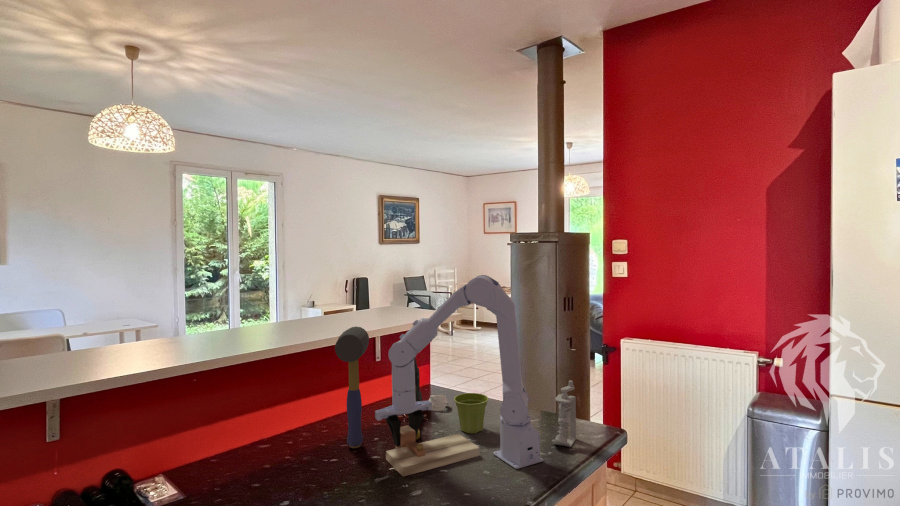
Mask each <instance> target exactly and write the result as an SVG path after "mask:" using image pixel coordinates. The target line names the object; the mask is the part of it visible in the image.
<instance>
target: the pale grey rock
mask: <svg viewBox="0 0 900 506" xmlns="http://www.w3.org/2000/svg"><path fill="white" fill-rule="evenodd" d="M428 400H429V401H430V402H432V410H431V411H433V412H443V411H445V410H446V407H447V406H450V402H449V401H448V399H447V396H446V395H445V394H438V395H437V394H436V395H433V394H432V395H429V399H428Z"/></svg>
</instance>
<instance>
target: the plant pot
mask: <svg viewBox="0 0 900 506" xmlns="http://www.w3.org/2000/svg"><path fill="white" fill-rule="evenodd" d="M453 401H454V402H455V406H456V408H457V414H458V415H457V416H458V420H459V426H460V431H461V432H465V434H477V433H479V432H482V431H483V430H484V422H485V421H484V420H485V414H486V407H487V403H488V401H489V397H488V396H487V395H485V394H482V393H478V392H477V393H476V392H466V393H460V394H457V395H456V396H454V398H453Z"/></svg>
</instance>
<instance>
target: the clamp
mask: <svg viewBox="0 0 900 506" xmlns="http://www.w3.org/2000/svg"><path fill="white" fill-rule="evenodd" d="M574 390H575V385H574V382H573V380H570V379H569V380H568V385H567V386H564V387H561V388H560V392H561V393H559V394H557V396H555V398H554V400H555V402H558V405H559V406H558V409H559V411H558V419H557V424H558V425H559V426H557V428H558V430H557V431H556V432H557V433H558V434H557V435H556V436H555V439H551V443H552V444H553V445H557V446H562V447H563V446H564V447H568V448H571V447H572V446H573V445H574V443H575V441H576V440H577V415H576V414H577V413H576V410H577V408H576V407H577V406H576V405H577V403H576V402H577V401H576V399H577V398H576V395H575V396H574V395H569V394H568V392H571V391H574ZM569 428H570V429H569ZM568 429H569V431H570V433H569V438H568V434H567V433H568V432H569V431H568Z"/></svg>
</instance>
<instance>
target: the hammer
mask: <svg viewBox="0 0 900 506" xmlns="http://www.w3.org/2000/svg"><path fill="white" fill-rule="evenodd" d="M416 359H417V358H416V357H415V358H414V369H415V402H418V401H423V395H422V392H421V389H420V388H421V387H420V386H421V383H420V378H421V377H420V368H419V367H418V365H417V364H418V363H417V360H416ZM420 437H421V432H420V428H419V429H418V433H417V437H416V440H419V439H420Z"/></svg>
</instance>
